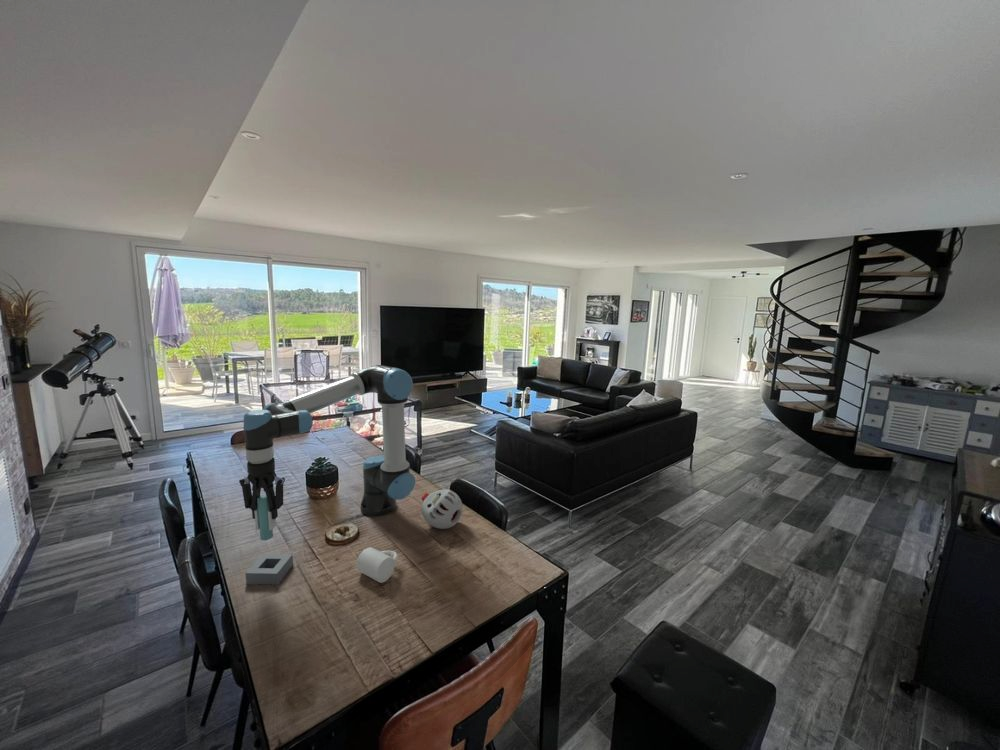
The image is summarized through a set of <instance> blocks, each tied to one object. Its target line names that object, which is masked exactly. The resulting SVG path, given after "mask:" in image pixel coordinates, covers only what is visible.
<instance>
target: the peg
mask: <svg viewBox="0 0 1000 750" xmlns="http://www.w3.org/2000/svg"><path fill="white" fill-rule="evenodd" d="M257 503H258V515H259V528H260V529H259V536H260V537H259V538H260V541H269V540H271V539H272V538H274V531H273V530H274V528H273V529H272V530H269V521H268V511H269V510H270V507H269V503H268V500H267V496H266V494H263V495H262V494H260V496H259V497H258V498H257Z"/></svg>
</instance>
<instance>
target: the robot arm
mask: <svg viewBox="0 0 1000 750" xmlns="http://www.w3.org/2000/svg"><path fill="white" fill-rule="evenodd" d="M413 389H414V382H413V378H412V376H411V375H410V374H409V372H408V371H406V370H404V369H401V368H398V367H392V366H388V365H384V364H376V365H372V366H368V367H366V368H363V369H360V370H357V371H355V372H352V373H351V374H350V376H349V377H346V378H344V379H340V380H339V381H336V382H333V383H331V384H328V385H325V386H322V387H320V388H317V389H314V390H312V391H309V392H306V393H303V394H301V395H299V396H295V397H292V398H291V399H288V400H285V401H282V402H279V403H278V402H271V403H268V404H266V405H264V407H263V408H262V409H256V410H255V409H254V410H251V411H248V412H245V413H244V415H243V435H244V444H245V456H246V457H245V458H246V461H247V462H246V467H247V469H246V471H247V476H243V477H242V478H240V480H239V481H238V483H239V484H240V486H241V489H242V497H243V501H244V507H245V509H249V510H251V515H252V517H251V518H252V519H253V520H254V522H255V525H254V526H255V530H256V531H258V530H259V531H260V528H259V515H258V503H257V498H258V497H259V496H261V491H262V489H263V492H265V495H266V496H267V500H268V503H269V507H270V510H269V511H268V521H269V530H272V529H273V530H274V528H276V526H277V522H276V521H277V520H276V519H277V518H278V515H279V513H278V510H279V509H280V508H281V507H282V506H283V505H284V484H285V482H286V481H285V480H286V478H285V477H279V476H277V474H276V472H275V471H276V461H275V458H274V457H275V450H274V439H280V438H284V437H285V438H286V437H289V436H293V435H300V434H303V433H307V432H309V431H311V430H312V427H313V417H312V414H313V413H316V412H317V411H320V410H323V409H325V408H327V407H330V406H333V405H335V404H338V403H340V402H342V401H345V400H347V399H350V398H352V397H355V396H357V395H359V396H363V395H366V394H370V393H376V396H377V404H379V405H380V406H381V414H382V415H381V417H382V418H381V419H382V420H381V421H382V442H383V445H382V446H383V455H377V456H372V457H368V458H366V459H364V461H363V464H362V471H363V495H362V499H361V502H360V513H362V514H363V515H366V516H371V517H376V516H377V517H378V516H384V515H387V514H389V513H392V512H393V511H394V510H395V509H396V507H397V500H399V501H400V500H403V499H406V498H407V497H408V496H409V495H410V494H412V493H411V492H412V491H414V489H415V486H416V477H415V476H414V474H413V473H411V469H410V462H409V461H408V460H407V459H406V457H407V456H406V432H405V429H406V426H405V404H406V403H407V402H408V401H409V400H408V398H409V396H410V395H411V393H412V391H413ZM251 484H252V485H251ZM274 485H275V488H274ZM274 489H275V490H274Z"/></svg>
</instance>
